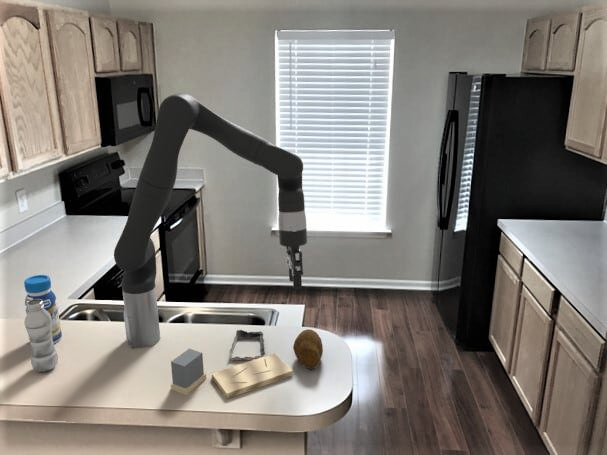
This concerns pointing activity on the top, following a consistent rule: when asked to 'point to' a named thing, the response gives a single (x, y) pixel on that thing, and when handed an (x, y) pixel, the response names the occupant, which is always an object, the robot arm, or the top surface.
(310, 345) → the potato
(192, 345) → the top surface
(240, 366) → the pine board
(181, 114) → the robot arm
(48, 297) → the beverage bottle
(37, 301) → the plastic bottle
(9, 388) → the top surface
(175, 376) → the sanding block
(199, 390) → the top surface
